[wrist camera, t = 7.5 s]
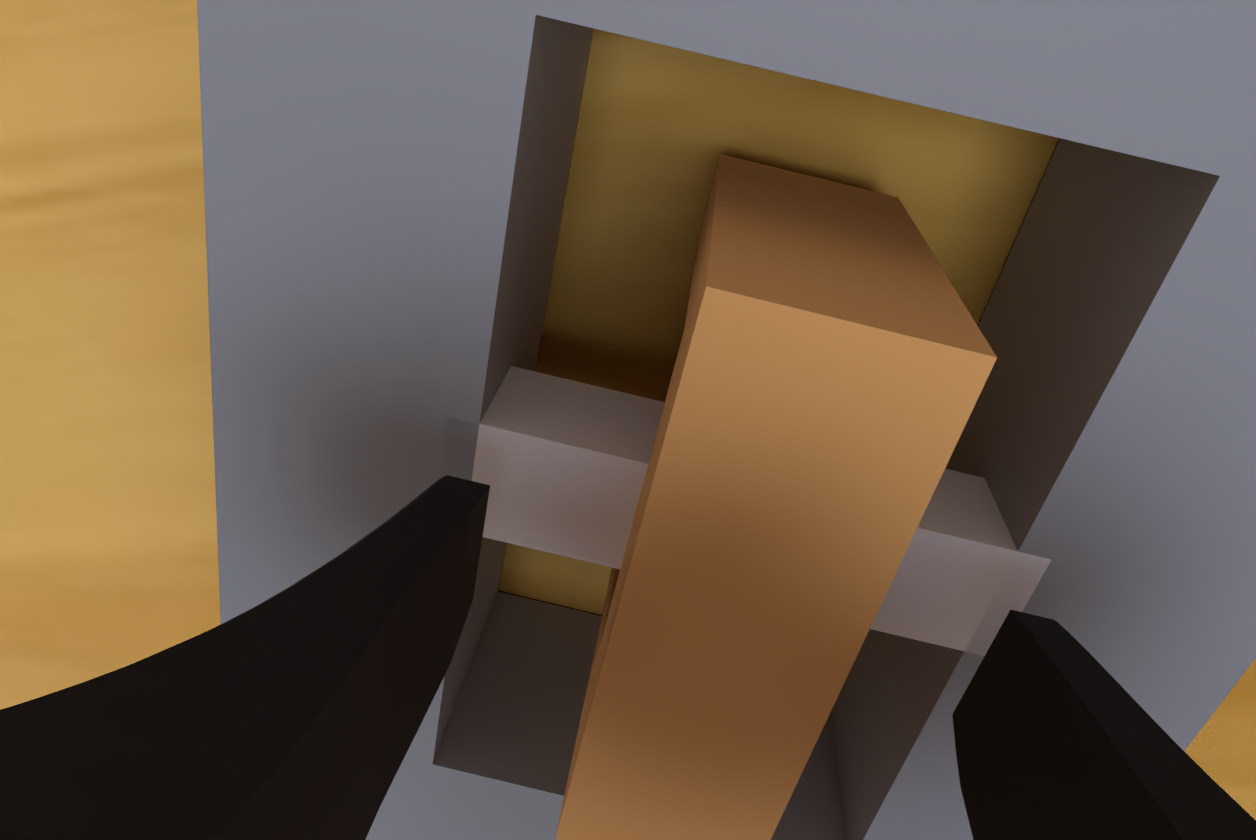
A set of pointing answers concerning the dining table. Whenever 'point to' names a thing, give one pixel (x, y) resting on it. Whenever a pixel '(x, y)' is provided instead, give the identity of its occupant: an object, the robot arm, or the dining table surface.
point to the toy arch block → (769, 504)
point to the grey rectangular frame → (627, 424)
